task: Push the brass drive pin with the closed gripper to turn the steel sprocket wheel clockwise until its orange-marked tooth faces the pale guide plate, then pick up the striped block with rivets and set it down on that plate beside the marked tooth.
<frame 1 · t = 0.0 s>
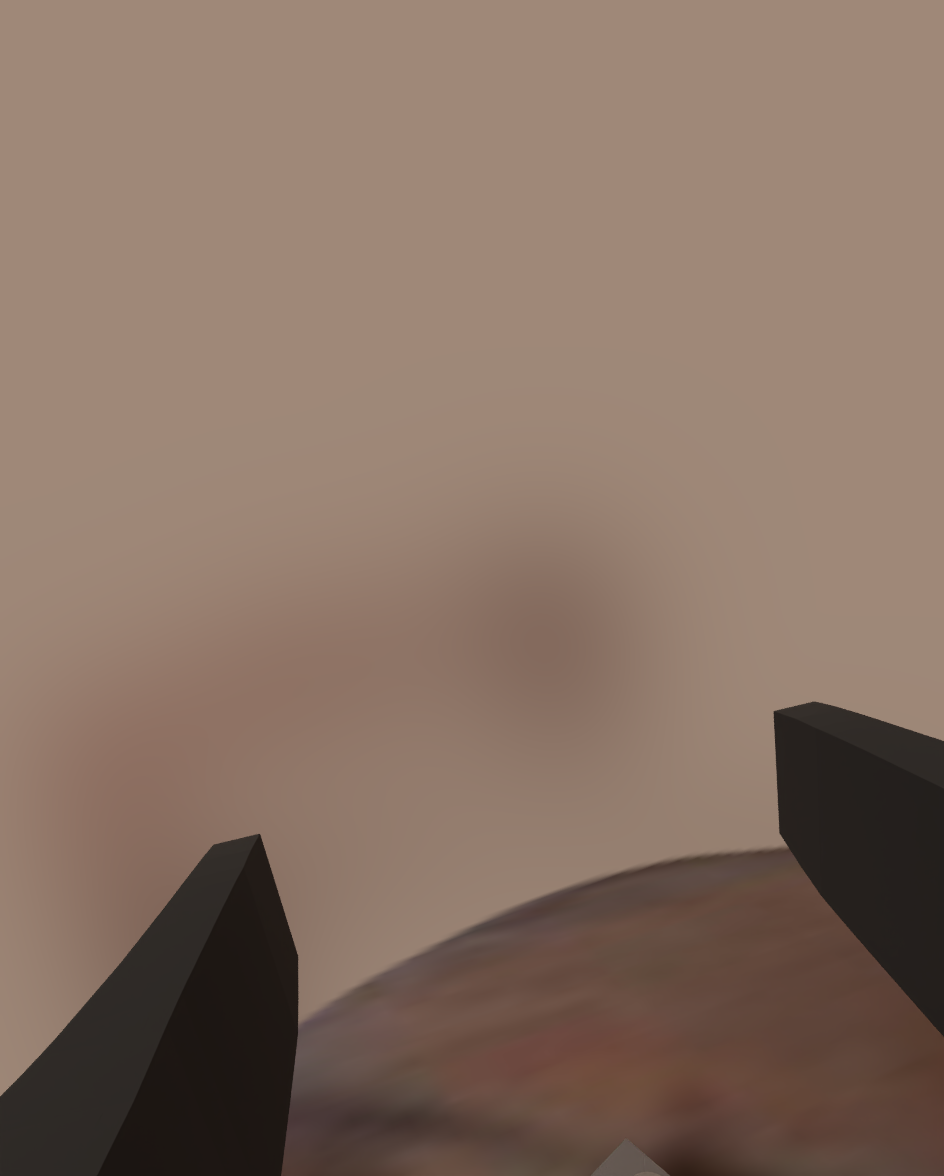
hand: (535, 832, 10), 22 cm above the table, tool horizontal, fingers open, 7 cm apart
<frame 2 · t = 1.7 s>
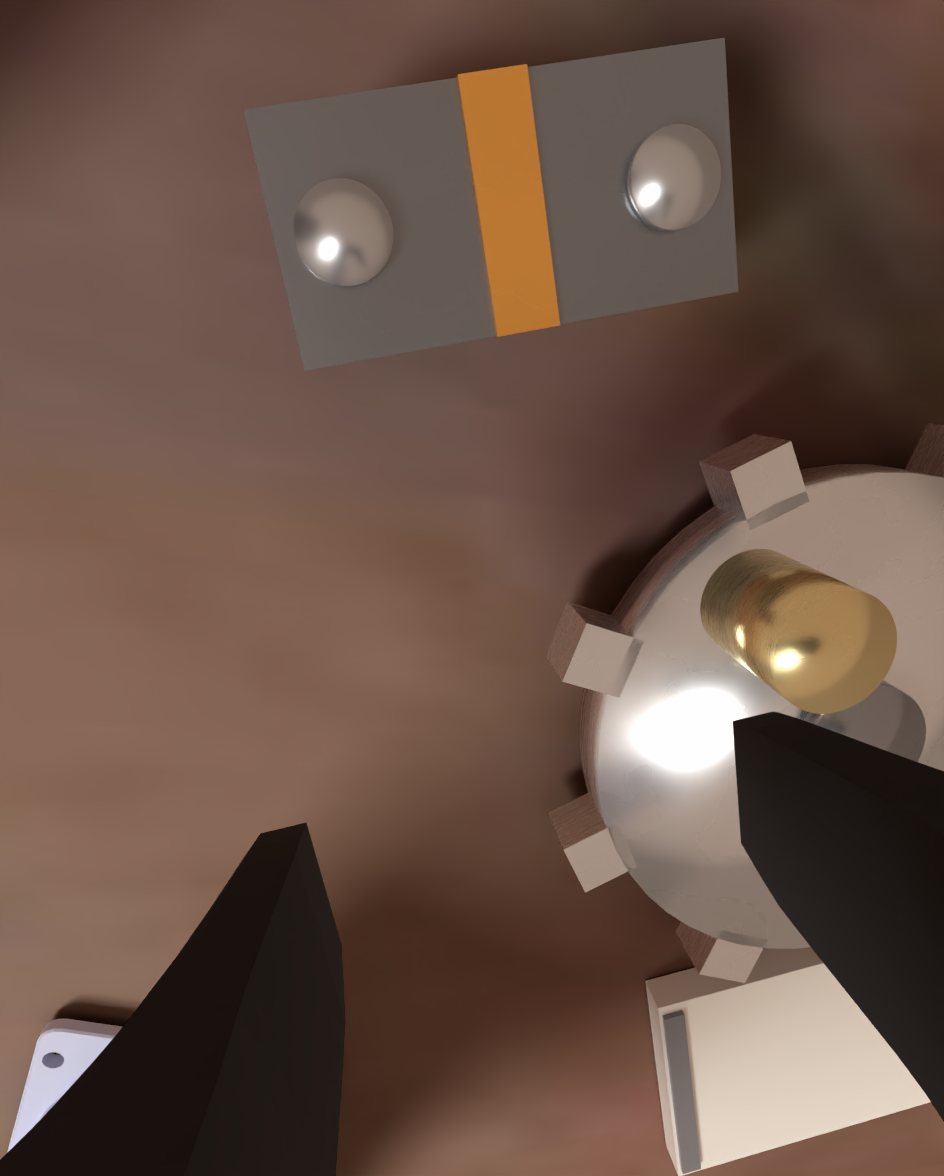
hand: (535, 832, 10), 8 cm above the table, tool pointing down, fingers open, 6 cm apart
sprocket wheel: (870, 750, 17), point 3 cm above the table, hinge at 0.0°
striped block with rivets: (462, 251, 16), on the table
guide plate: (805, 1024, 24), on the table
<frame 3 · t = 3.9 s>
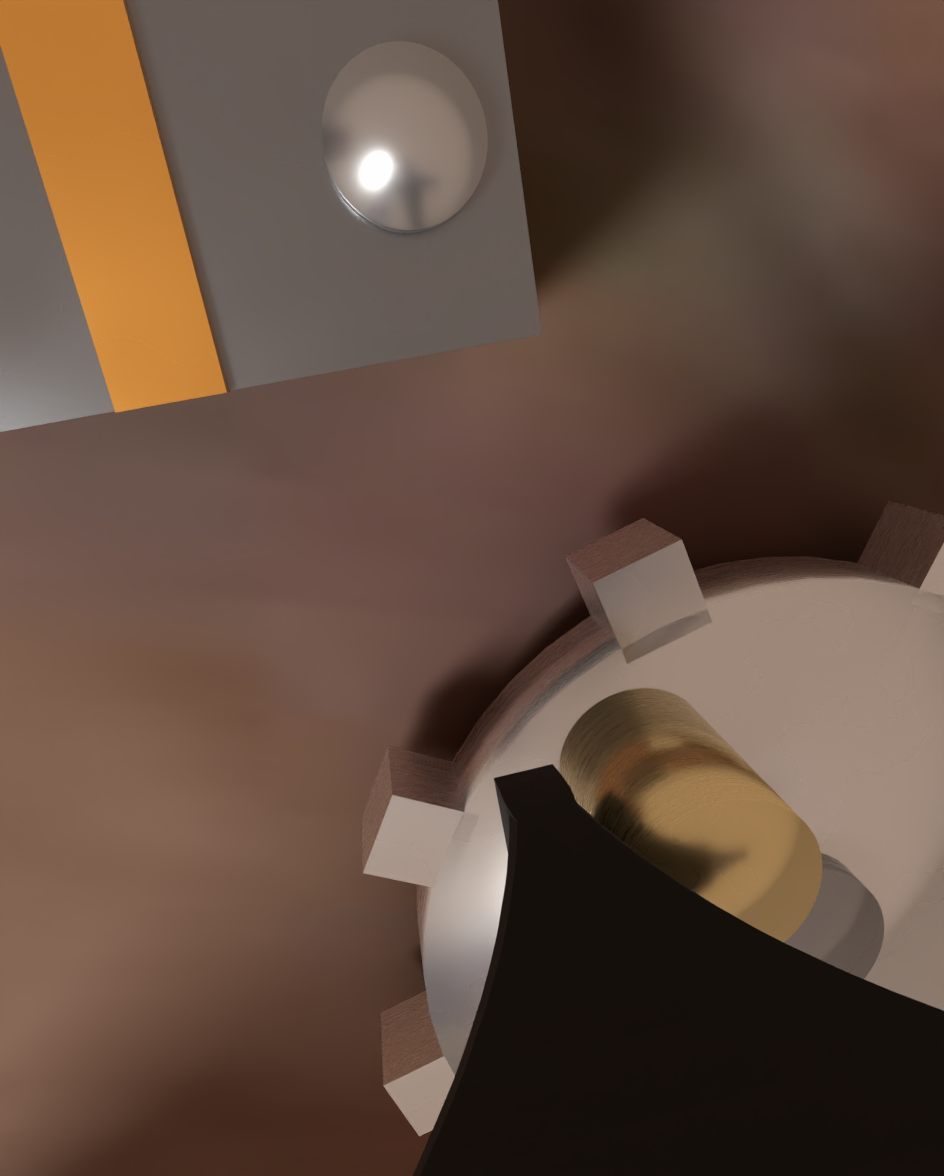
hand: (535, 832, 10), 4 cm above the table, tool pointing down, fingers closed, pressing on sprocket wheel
sprocket wheel: (805, 957, 12), point 3 cm above the table, hinge at -0.1°, touching gripper
striped block with rivets: (215, 262, 11), on the table
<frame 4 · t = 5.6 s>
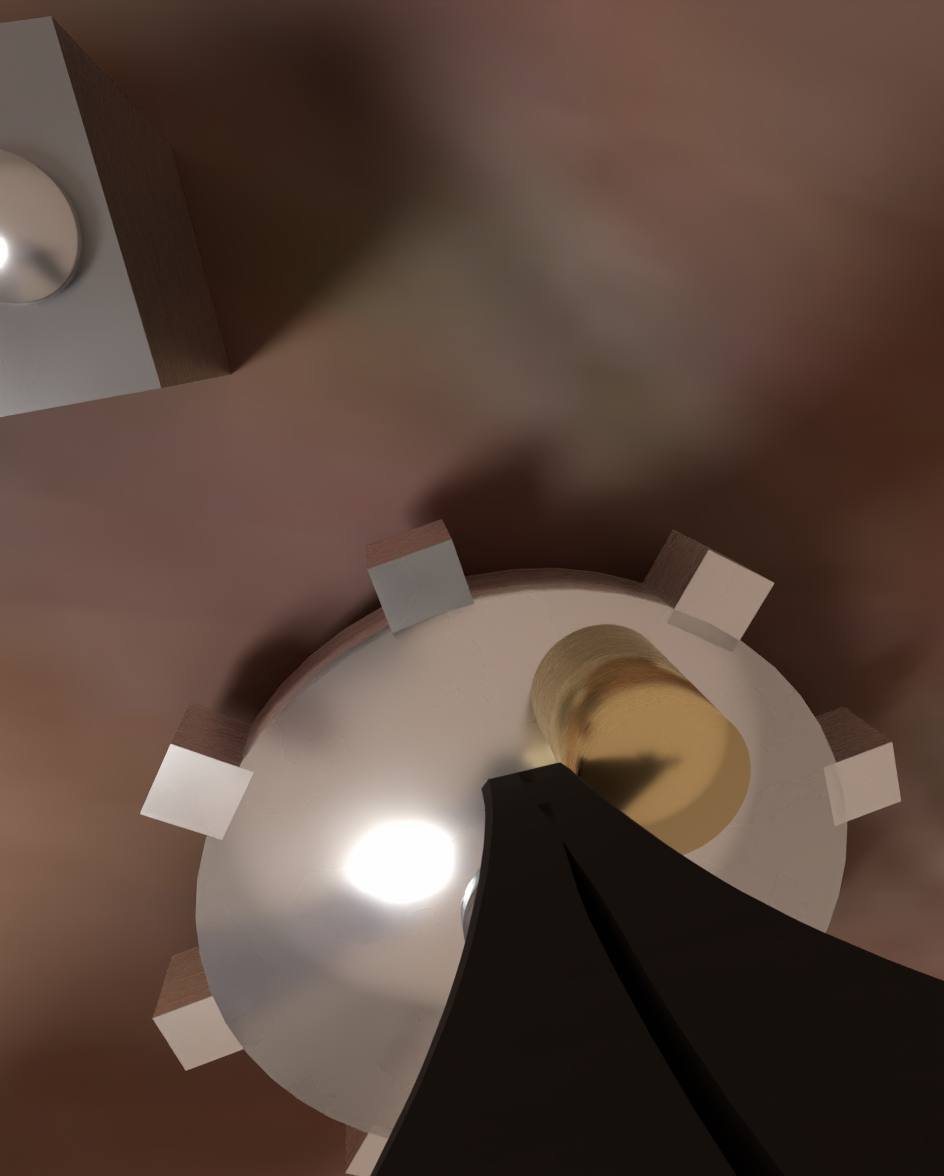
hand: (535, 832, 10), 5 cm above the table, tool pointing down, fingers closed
sprocket wheel: (549, 935, 13), point 3 cm above the table, hinge at -51.7°, touching gripper
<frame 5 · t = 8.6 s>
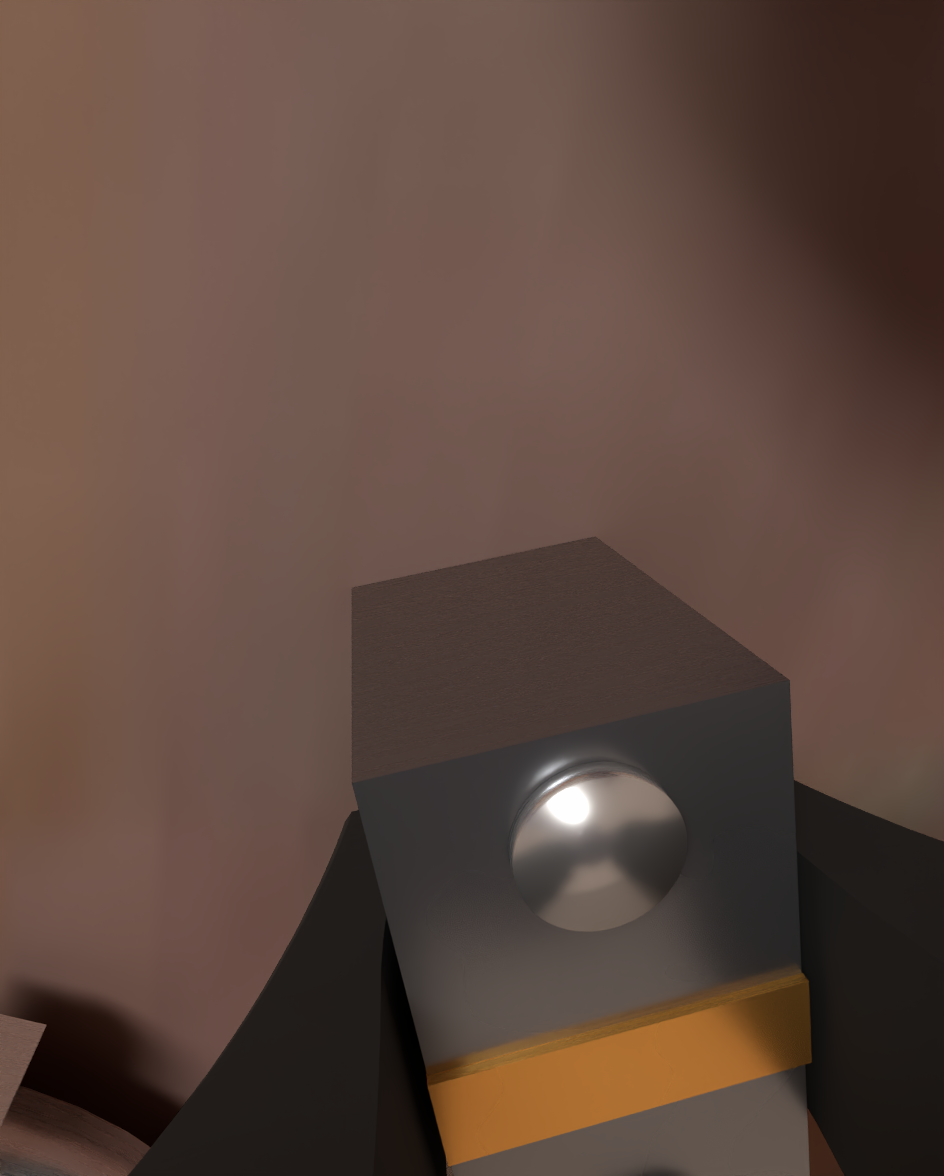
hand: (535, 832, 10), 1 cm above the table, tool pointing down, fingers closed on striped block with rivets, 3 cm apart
striped block with rivets: (513, 775, 12), on the table, touching gripper
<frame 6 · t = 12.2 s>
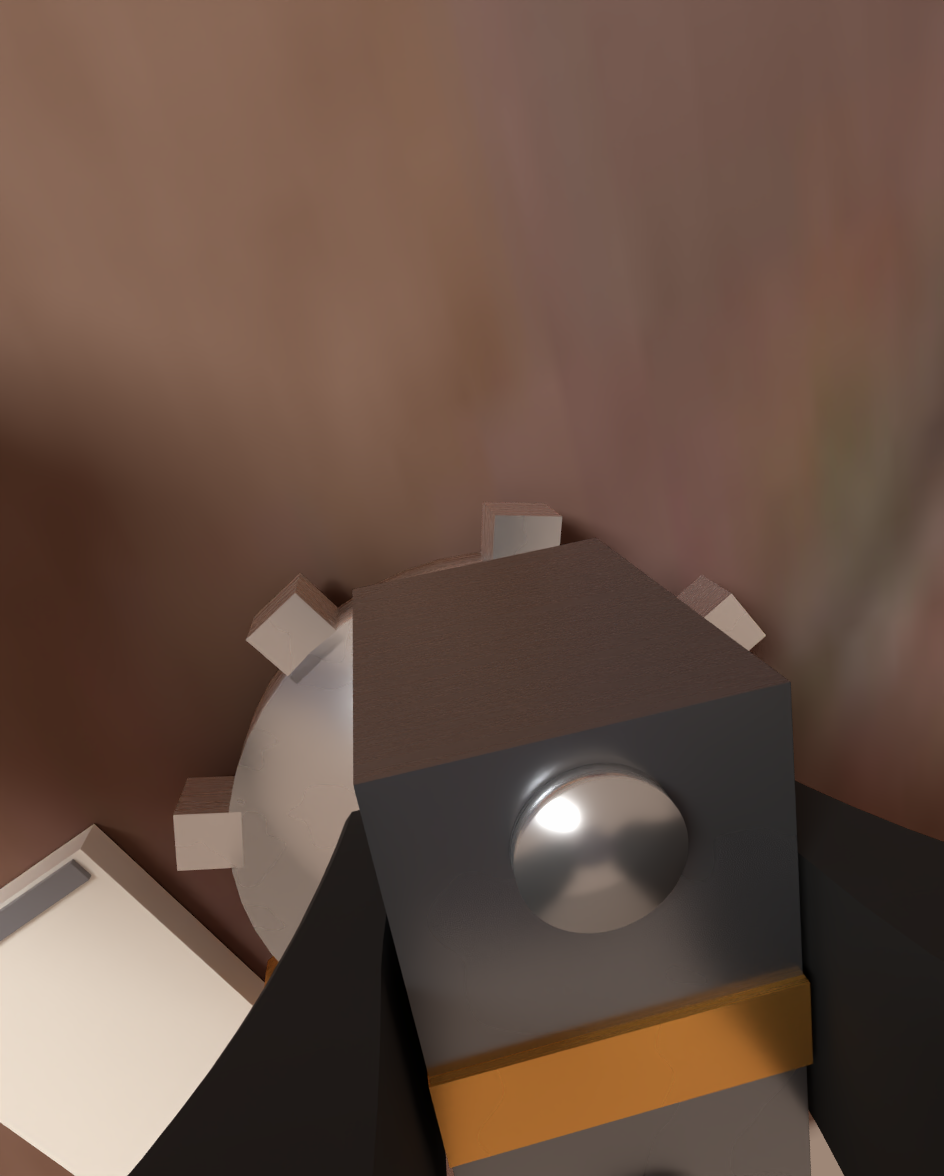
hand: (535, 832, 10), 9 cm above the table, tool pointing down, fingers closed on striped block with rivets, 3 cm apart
sprocket wheel: (513, 847, 17), point 3 cm above the table, hinge at -51.7°
striped block with rivets: (514, 776, 12), point 7 cm above the table, touching gripper
guide plate: (123, 1019, 20), on the table
when the fingers open (3 cm above the table, at t = 16.0 s): striped block with rivets stays where it is, resting on guide plate.
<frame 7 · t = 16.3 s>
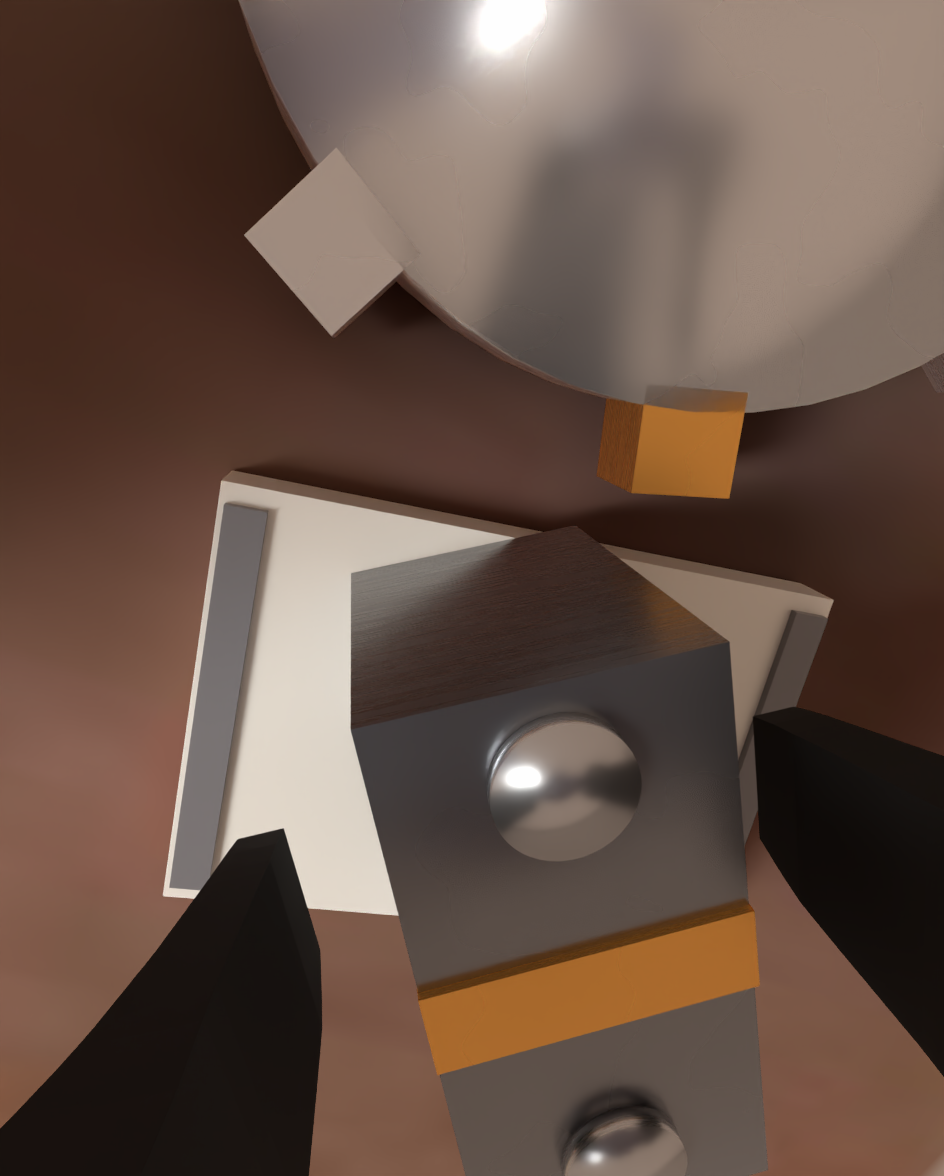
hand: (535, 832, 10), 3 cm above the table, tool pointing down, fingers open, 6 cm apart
striped block with rivets: (501, 748, 13), point 1 cm above the table, touching guide plate
guide plate: (491, 718, 13), on the table
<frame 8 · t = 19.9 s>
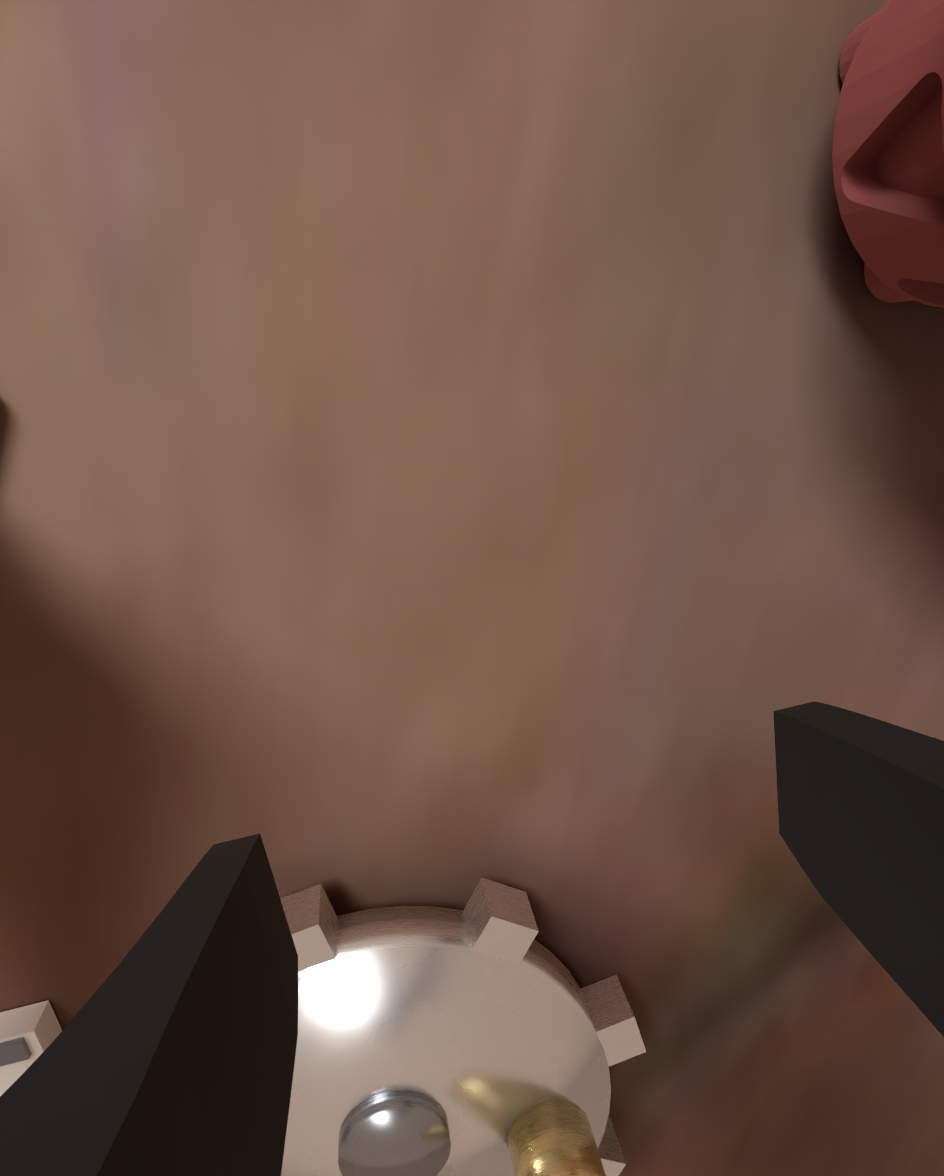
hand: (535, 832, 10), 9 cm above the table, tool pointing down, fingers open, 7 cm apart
sprocket wheel: (395, 1159, 20), point 3 cm above the table, hinge at -51.7°
mechanical component: (921, 156, 18), on the table
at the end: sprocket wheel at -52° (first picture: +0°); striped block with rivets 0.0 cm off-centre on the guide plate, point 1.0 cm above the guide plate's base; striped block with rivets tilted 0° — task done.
